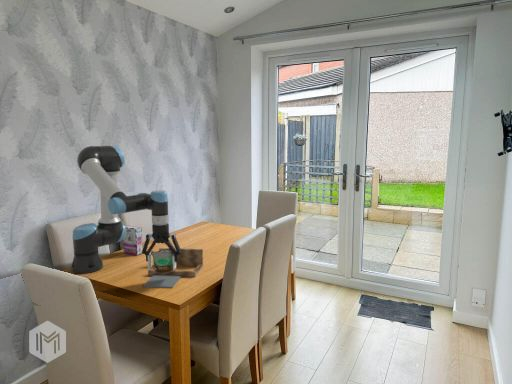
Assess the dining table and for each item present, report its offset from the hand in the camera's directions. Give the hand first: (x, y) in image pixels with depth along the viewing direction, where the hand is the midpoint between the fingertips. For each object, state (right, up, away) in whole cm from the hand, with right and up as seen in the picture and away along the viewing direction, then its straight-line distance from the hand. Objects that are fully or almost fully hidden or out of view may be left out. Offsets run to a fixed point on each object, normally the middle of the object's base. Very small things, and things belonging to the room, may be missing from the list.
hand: (162, 268), depth 171 cm
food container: (+1, -2, 0) cm, 2 cm away
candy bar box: (-29, -1, +45) cm, 54 cm away
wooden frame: (+3, -4, +17) cm, 18 cm away
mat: (0, -7, +1) cm, 7 cm away
